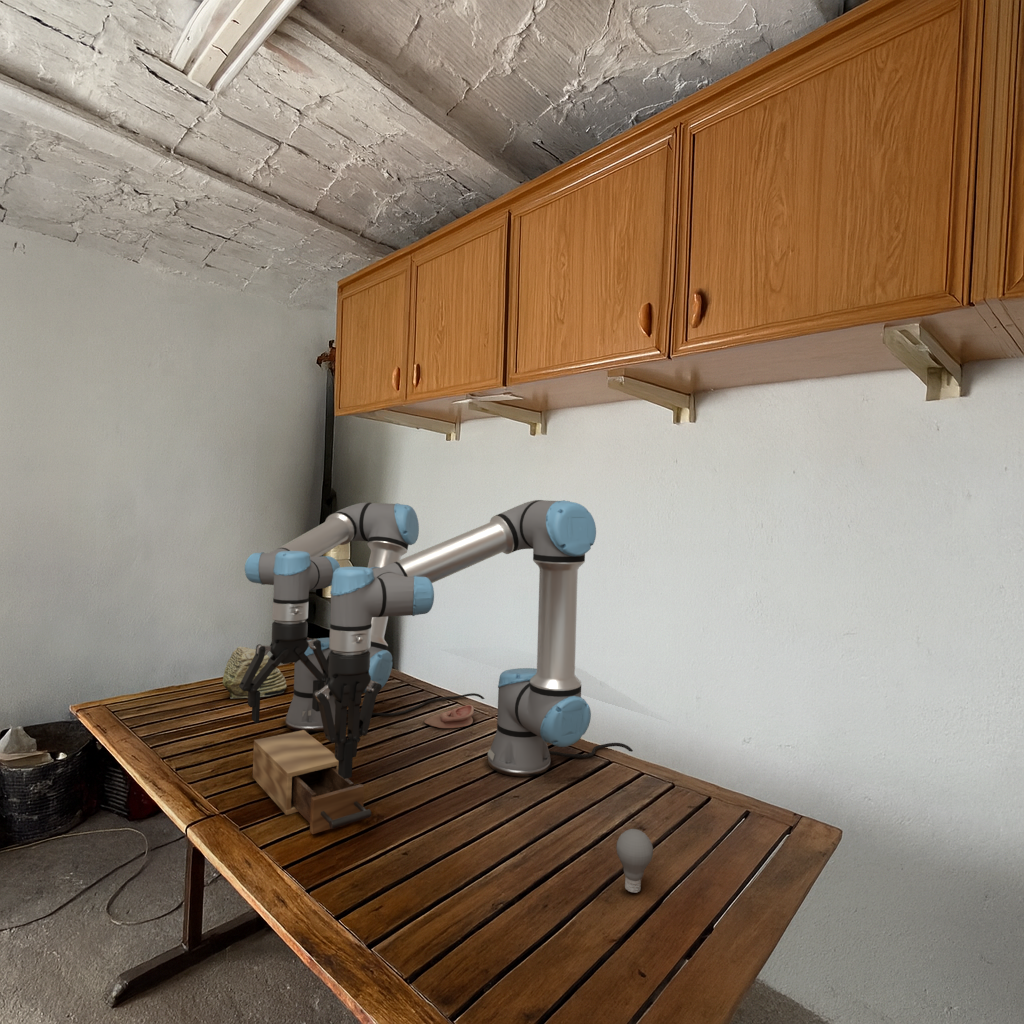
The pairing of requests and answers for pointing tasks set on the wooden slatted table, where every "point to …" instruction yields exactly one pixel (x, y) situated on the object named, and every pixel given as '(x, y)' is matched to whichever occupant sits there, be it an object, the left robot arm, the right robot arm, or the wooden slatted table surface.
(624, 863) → the light bulb
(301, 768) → the cabinet
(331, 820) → the drawer
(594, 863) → the wooden slatted table surface
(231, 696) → the fossil
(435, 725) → the anatomical model
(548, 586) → the right robot arm
